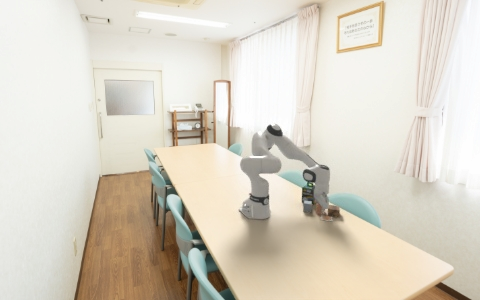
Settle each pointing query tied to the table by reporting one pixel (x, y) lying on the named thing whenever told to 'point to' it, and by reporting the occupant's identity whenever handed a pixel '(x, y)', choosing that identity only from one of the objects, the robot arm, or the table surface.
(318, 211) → the terracotta block
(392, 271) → the table surface
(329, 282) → the table surface
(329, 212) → the walnut base
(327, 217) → the swatch
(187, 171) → the table surface
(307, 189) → the dark product box
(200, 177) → the table surface
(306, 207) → the slate block
